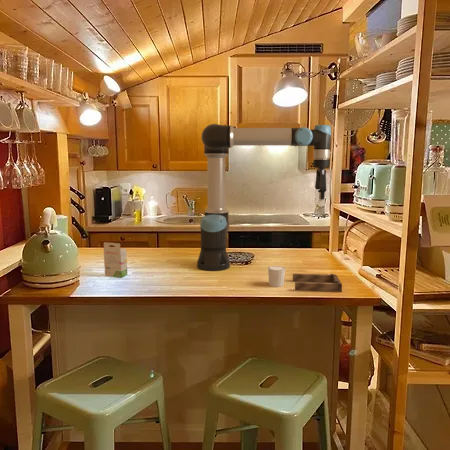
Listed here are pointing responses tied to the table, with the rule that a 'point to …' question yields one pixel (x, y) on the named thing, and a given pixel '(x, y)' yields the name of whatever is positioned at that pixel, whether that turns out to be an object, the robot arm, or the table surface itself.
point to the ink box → (115, 260)
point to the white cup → (276, 276)
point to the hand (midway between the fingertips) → (319, 204)
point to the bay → (309, 283)
